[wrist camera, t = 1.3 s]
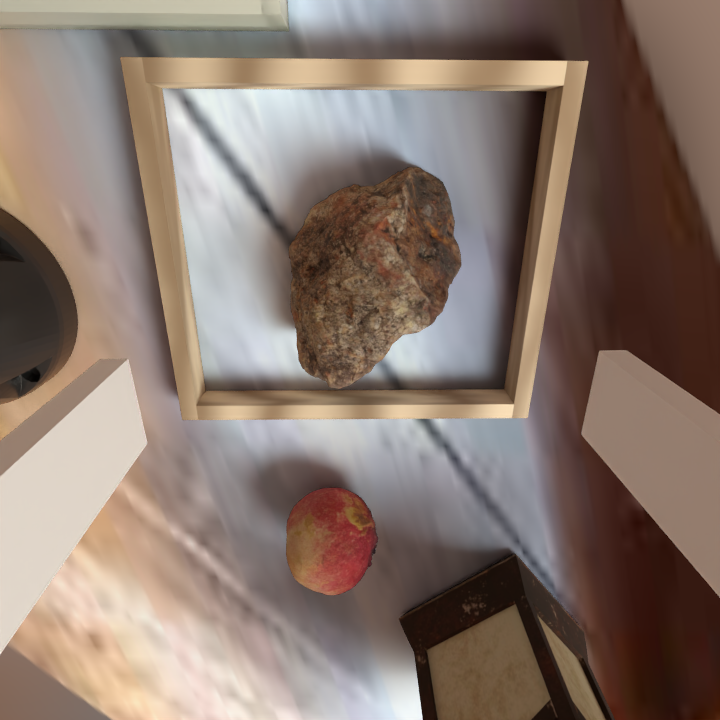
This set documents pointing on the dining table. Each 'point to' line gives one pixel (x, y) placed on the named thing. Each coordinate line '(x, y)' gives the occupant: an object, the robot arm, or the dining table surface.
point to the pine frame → (353, 74)
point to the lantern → (501, 652)
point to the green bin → (146, 15)
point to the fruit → (330, 540)
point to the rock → (370, 272)
